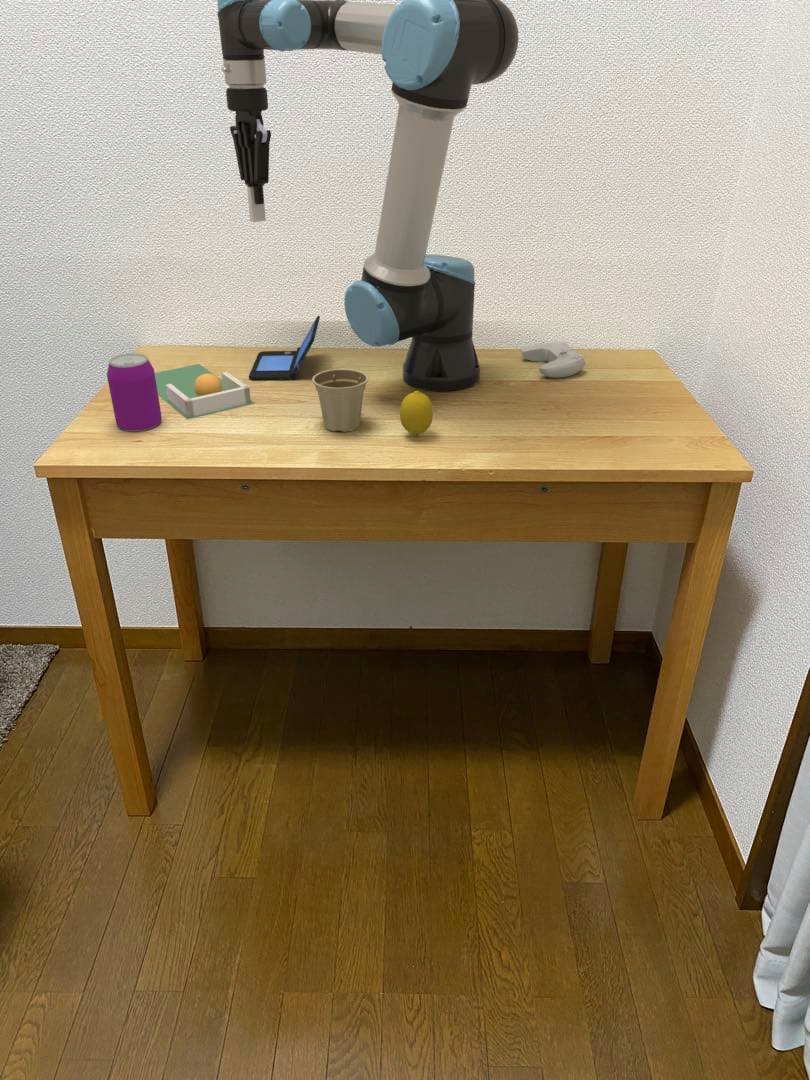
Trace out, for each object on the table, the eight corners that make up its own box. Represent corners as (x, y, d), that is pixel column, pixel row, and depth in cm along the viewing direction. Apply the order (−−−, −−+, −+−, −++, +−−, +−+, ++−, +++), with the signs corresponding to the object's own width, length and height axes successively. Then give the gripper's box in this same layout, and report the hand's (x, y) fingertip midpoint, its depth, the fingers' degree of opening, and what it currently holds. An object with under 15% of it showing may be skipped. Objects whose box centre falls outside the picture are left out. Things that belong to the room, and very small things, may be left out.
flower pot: (333, 411, 153) (331, 365, 149) (379, 420, 149) (378, 373, 145) (304, 430, 146) (301, 382, 141) (351, 440, 142) (350, 391, 138)
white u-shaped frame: (251, 403, 155) (249, 387, 154) (188, 417, 150) (186, 401, 148) (228, 386, 163) (226, 371, 161) (168, 400, 157) (165, 384, 155)
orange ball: (227, 380, 154) (217, 368, 157) (200, 380, 151) (191, 369, 154) (224, 405, 156) (214, 393, 160) (198, 406, 154) (189, 394, 157)
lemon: (433, 429, 146) (434, 385, 142) (431, 443, 141) (432, 397, 137) (401, 428, 146) (401, 384, 142) (398, 442, 142) (398, 396, 137)
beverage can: (115, 420, 150) (102, 354, 144) (159, 414, 152) (149, 349, 146) (119, 437, 144) (105, 369, 137) (165, 430, 146) (154, 363, 140)
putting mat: (254, 405, 156) (254, 403, 155) (187, 421, 149) (187, 419, 149) (199, 365, 174) (198, 363, 174) (137, 378, 168) (136, 376, 167)
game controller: (516, 344, 176) (561, 330, 177) (519, 364, 178) (563, 350, 179) (543, 367, 164) (591, 352, 165) (545, 388, 166) (593, 373, 167)
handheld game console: (259, 357, 179) (255, 314, 174) (322, 357, 179) (320, 313, 174) (248, 384, 166) (243, 337, 161) (316, 383, 166) (313, 337, 161)
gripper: (212, 85, 160) (226, 217, 172) (242, 89, 150) (255, 228, 163) (249, 84, 163) (260, 213, 175) (280, 87, 154) (290, 223, 166)
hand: (257, 220), depth 169 cm, fingers closed
